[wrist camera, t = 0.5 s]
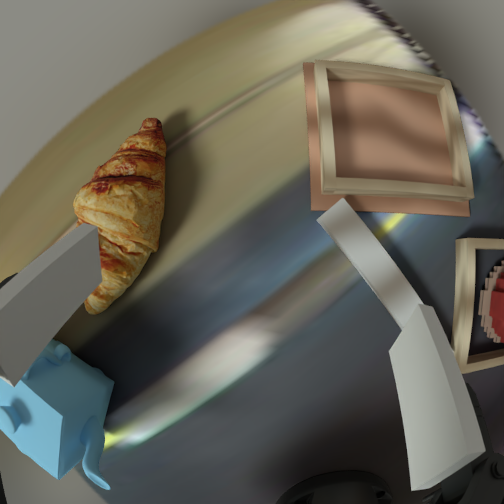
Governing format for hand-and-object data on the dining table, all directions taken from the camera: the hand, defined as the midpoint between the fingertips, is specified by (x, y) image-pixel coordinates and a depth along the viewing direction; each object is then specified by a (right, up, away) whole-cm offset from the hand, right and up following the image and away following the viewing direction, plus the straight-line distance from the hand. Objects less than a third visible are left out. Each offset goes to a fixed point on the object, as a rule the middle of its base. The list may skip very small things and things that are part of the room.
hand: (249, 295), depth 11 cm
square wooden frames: (+22, +5, +15) cm, 27 cm away
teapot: (-19, -16, +19) cm, 31 cm away
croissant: (-13, +5, +19) cm, 24 cm away
